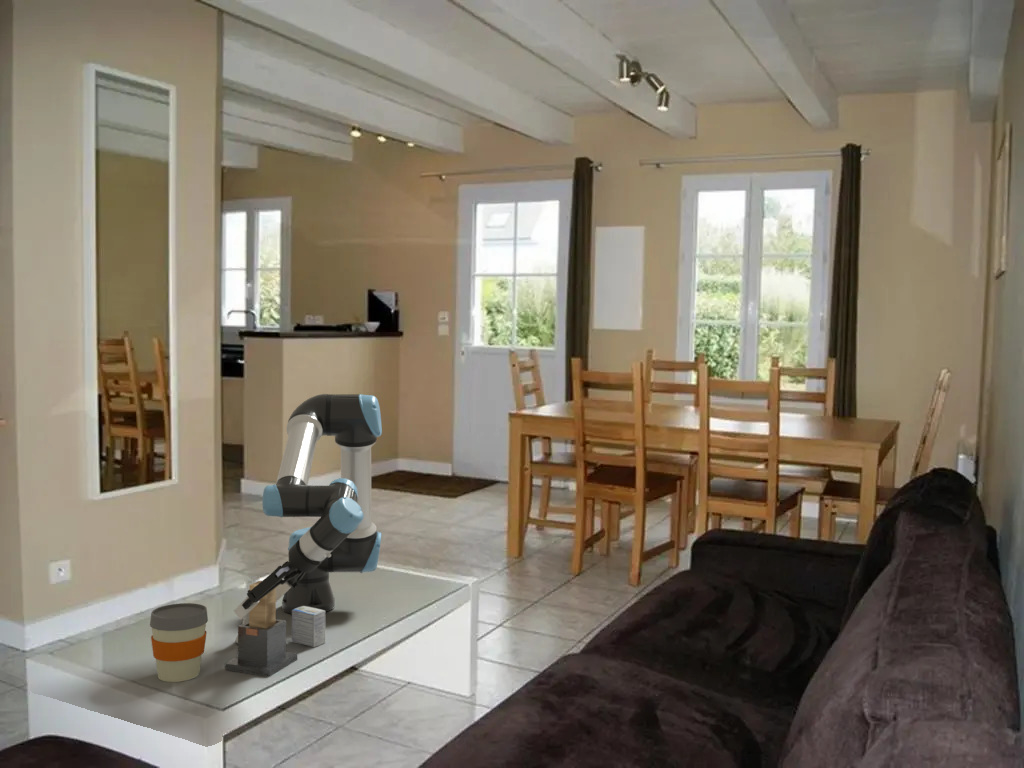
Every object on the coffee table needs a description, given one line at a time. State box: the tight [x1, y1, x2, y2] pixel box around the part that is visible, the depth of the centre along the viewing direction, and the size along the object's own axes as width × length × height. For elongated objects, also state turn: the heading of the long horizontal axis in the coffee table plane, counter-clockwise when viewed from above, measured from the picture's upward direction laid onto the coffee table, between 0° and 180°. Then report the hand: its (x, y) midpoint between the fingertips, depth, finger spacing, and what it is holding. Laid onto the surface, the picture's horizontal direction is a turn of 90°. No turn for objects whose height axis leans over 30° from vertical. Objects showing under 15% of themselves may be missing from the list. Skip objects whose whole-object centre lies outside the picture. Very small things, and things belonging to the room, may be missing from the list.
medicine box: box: [291, 606, 326, 648], centre depth 229 cm, size 8×4×9 cm, turn 59°
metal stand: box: [224, 619, 298, 677], centre depth 212 cm, size 12×12×10 cm
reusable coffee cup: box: [149, 602, 209, 683], centre depth 205 cm, size 12×13×15 cm
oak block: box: [248, 580, 277, 628], centre depth 212 cm, size 5×5×18 cm
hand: (254, 607), depth 213 cm, fingers open, 13 cm apart
